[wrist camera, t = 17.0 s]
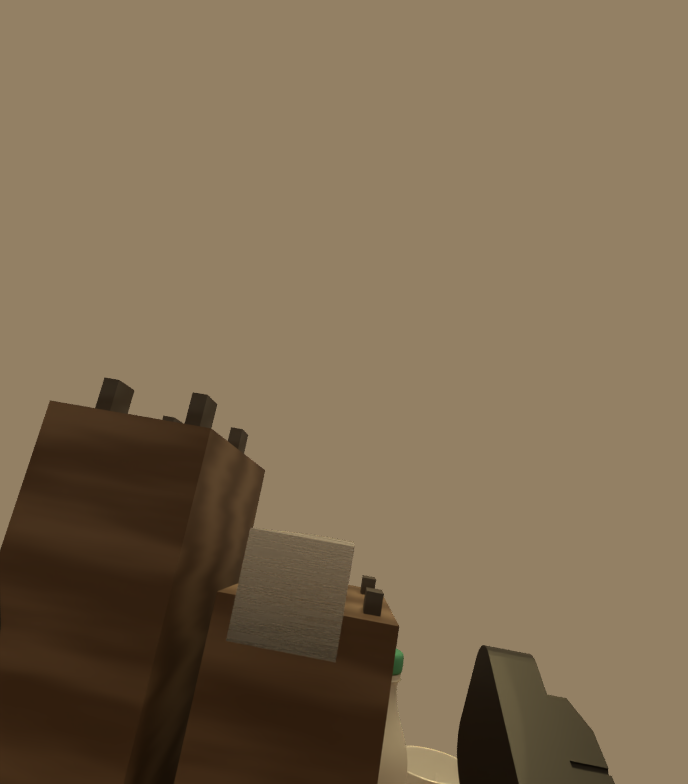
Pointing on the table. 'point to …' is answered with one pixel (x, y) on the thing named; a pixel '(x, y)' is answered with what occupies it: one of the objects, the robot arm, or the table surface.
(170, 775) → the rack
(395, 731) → the milk bottle
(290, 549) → the block
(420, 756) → the white cup
